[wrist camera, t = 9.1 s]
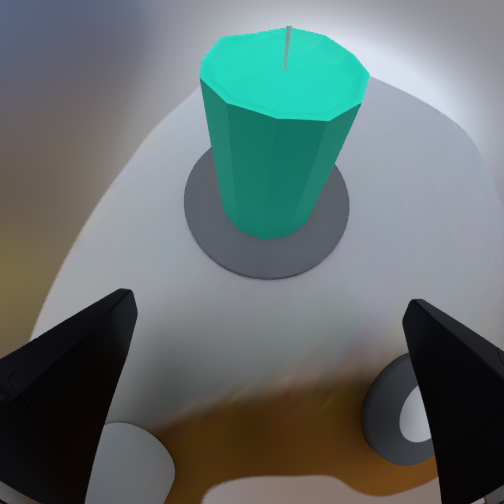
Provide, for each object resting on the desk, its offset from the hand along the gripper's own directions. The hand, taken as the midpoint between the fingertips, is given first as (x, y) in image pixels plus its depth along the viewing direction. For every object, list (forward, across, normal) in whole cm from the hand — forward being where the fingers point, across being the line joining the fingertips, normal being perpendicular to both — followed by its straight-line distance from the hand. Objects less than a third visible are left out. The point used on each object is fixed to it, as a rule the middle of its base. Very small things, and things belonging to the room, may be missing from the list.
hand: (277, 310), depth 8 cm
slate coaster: (+12, 0, 0) cm, 12 cm away
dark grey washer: (+2, -11, +10) cm, 15 cm away
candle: (+11, 0, 0) cm, 11 cm away
